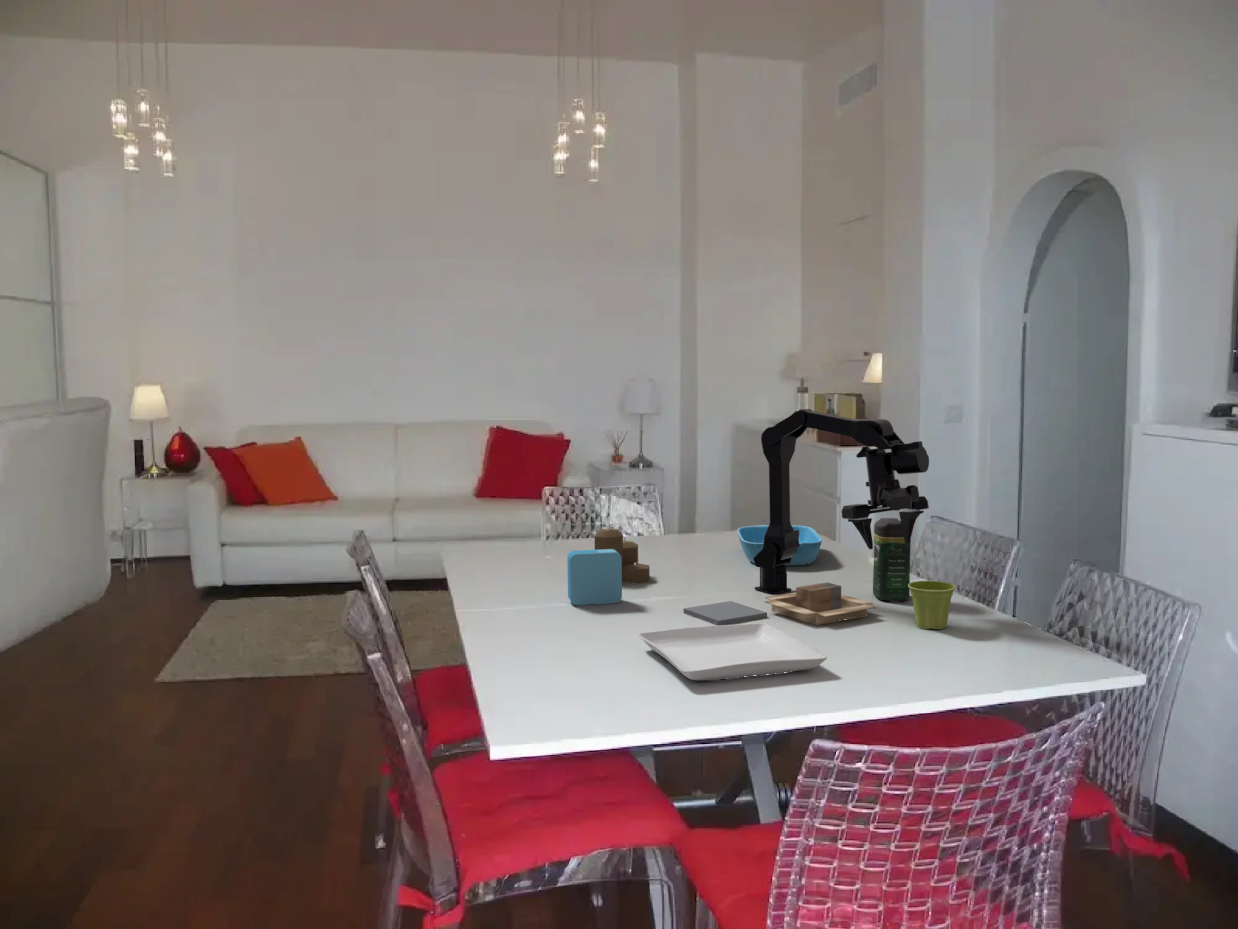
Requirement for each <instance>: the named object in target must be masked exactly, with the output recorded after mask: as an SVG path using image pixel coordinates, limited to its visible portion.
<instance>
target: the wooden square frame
mask: <svg viewBox="0 0 1238 929" xmlns="http://www.w3.org/2000/svg"><path fill="white" fill-rule="evenodd" d="M764 599H766V600H765V601H764V602H763V603H766V604H769V605H770V606H771V611H772V612H773V613H774V612H775V613H777V614H780V615H784V616H788V617H791V618H792V619H793V618H794V619H796V620H800V619H801V620H800V621H803V620H804V621H803V622H806V621H807V623H810V624H812V625H816V626H820V625H825V623H826V624H830V623H831V622H832V623H835V622H834V621H837V622H840V621H839V620H842V621H845V620H844V619H848V620H854V619H857V618H858V617H859V618H864V617H867V613H868V612H867V611H868V610H871V609H876V606H872V605H874V602H872V601H869V600H865V599H861V598H857V597H852V596H850V595H846V594H843V593H841V609H835V610H830V611H824V612H818V613H817V612H814V611H811V610H807V609H804V608H801V607H797V606H796V591H795V592H790V593H785V594H784V593H783V594H778V595H777V594H776V595H771V596H766V597H764ZM863 616H864V617H863Z"/></svg>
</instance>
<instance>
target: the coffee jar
mask: <svg viewBox="0 0 1238 929" xmlns="http://www.w3.org/2000/svg"><path fill="white" fill-rule="evenodd" d="M911 542H912V538H911V539H910V543H909V544H906V543H905V540H904V536H903V531H902V525H901V520H900V519H899V518H897V517H896V518H893V517H885V518H884V517H883V518H882V517H881V518H880V519H879V520H877V521H875V523H874V526H873V568H872V569H873V572H872V573H873V575H872V594H873V596H874V597H875V598H877V599H878V600H881V601H889V602H891V603H892V602H894V603H896V602H901V601H908V600H909V599H910V596H911V595H910V594H911V592H910V588H909V587H908V584H909V583H911V578H910V577H911V575H910V574H911Z"/></svg>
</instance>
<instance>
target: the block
mask: <svg viewBox="0 0 1238 929" xmlns="http://www.w3.org/2000/svg"><path fill="white" fill-rule="evenodd" d="M795 592H796V606H797V607H801V608H804V609H807V610H811V611H814V612H817V613H818V612H824V611H830V610H835V609H841V594H842V585H840V584H839V585H838V584H835V583H831V582H822V583H814V584H808V585H801V586H795Z"/></svg>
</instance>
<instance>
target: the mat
mask: <svg viewBox="0 0 1238 929" xmlns="http://www.w3.org/2000/svg"><path fill="white" fill-rule="evenodd" d="M683 613H684V614H685V615H689V616H692V617H694V618H696V619H700V620H702V621H705V622H708V623H711V624H714V625H715V626H719V625H731V624H735V623H742V622H746V621H752V620H751V619H753V620H757V619H764V618H768V612H766V611H763V610H760V609H757V608H754V607H750V606H748V605H745V604H741V603H738V602H735V601H733V600H728V601H722V602H715V603H709V604H703V605H696V606H692V607H691V606H690V607H684V608H683Z"/></svg>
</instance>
